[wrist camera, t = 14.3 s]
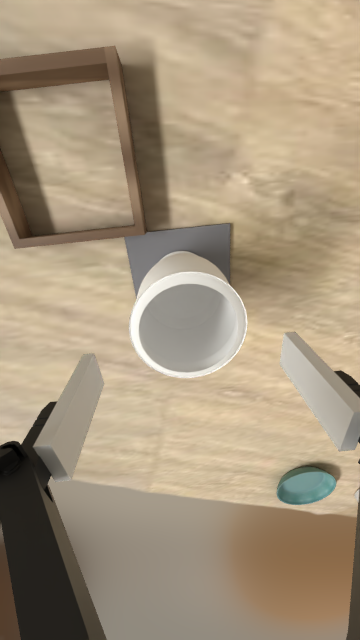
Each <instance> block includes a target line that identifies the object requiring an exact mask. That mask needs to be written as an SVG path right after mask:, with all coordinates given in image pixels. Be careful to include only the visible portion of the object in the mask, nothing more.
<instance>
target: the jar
mask: <svg viewBox="0 0 360 640" xmlns="http://www.w3.org/2000/svg"><path fill="white" fill-rule="evenodd" d="M246 331H247V314H246V310H245V306H244V304H243V302H242V300H241V298H240V296H239V295H238V294H237V292H236V291H235V290H234V289H233V288H232V287H231V286H230V284H229V282H228V281H227V279H226V277H225V276H224V275H223V273H222V272H221V271H220V270H219V269H218V268H217V267H216V266H215V265H214V264H213V263H211V262H210V261H208V260H206V259H205V258H202V257H200V256H197V255H196V254H194V253H191V252H188V251H176V252H172V253H170V254H168V255H166V256H164V257H163V258H162V259H161V260H160V261H159V262H158V263H157V264H156V265H154V266H153V267H152V268H151V269H150V271H149V272H148V273H147V274H146V276H145V278H144V279H143V281H142V283H141V285H140V288H139V291H138V295H137V300H136V302H135V304H134V306H133V309H132V312H131V315H130V320H129V334H130V339H131V342H132V345H133V347H134V349H135V351H136V353H137V354H138V356H139V357H140V358H141V359H142V360H143V361H144V362H145V363H146V364H147V365H148V366H149V367H151V368H152V369H154V370H156V371H158V372H160V373H162V374H165V375H168V376H172V377H177V378H194V377H200V376H204V375H207V374H210V373H212V372H214V371H216V370H218V369H220V368H221V367H223V366H224V365H226V364H227V363H228V362H229V361H230V360H231V359H232V358H233V357H234V356H235V355H236V354H237V352H238V351H239V349H240V348H241V346H242V344H243V341H244V339H245V336H246Z"/></svg>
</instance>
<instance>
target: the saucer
mask: <svg viewBox="0 0 360 640" xmlns="http://www.w3.org/2000/svg"><path fill="white" fill-rule="evenodd" d="M335 487H336V480H335V478H334V477H333V476H332V475H330V474H329V473H327V472H326V471H323V470H321V469H318V468H315V467H300V468H297V469H294V470H291V471H289V472H288V473H286V474H285V475H284V476H283V477H282V478H281V480H280V482H279V484H278V488H277V497H278V499H279V500H280V501H282V502H284V503H286V504H292V505H302V504H310V503H313V502H316V501H319V500H321V499H323V498H325V497H327V496H328V495H329V494H331V493H332V491H333V490H334V489H335Z"/></svg>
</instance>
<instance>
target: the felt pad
mask: <svg viewBox="0 0 360 640" xmlns="http://www.w3.org/2000/svg"><path fill="white" fill-rule="evenodd" d="M124 238H125V243H126V248H127V253H128V258H129V263H130V268H131V273H132V278H133V283H134V288H135V293H136V298H137V295H138V291H139V288H140V285H141V283H142V281H143V279H144V278H145V276H146V274H147V273H148V272H149V271H150V269H151V268H152V267H153V266H154V265H156V264H157V263H158V262H159V261H160V260H161V259H162V258H163V257H164V256H166V255H168V254H170V253H172V252H176V251H188V252H191V253H194V254H196V255H197V256H200V257H202V258H205V259H206V260H208V261H210V262H211V263H213V264H214V265H215V266H216V267H217V268H218V269H219V270H220V271H221V272H222V273H223V275H224V276H225V277H226V279H227V281H228V282H229V284H230V223H227V224H217V225H208V226H199V227H189V228H180V229H171V230H161V231H152V232H147V233H146V234H145V235H138V236H129V237H124Z"/></svg>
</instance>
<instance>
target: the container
mask: <svg viewBox="0 0 360 640" xmlns="http://www.w3.org/2000/svg"><path fill="white" fill-rule="evenodd" d="M359 489H360V488H359ZM359 489H358V490H357V491H356V493H355V498H356V500H357V501H358V502H359Z"/></svg>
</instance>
